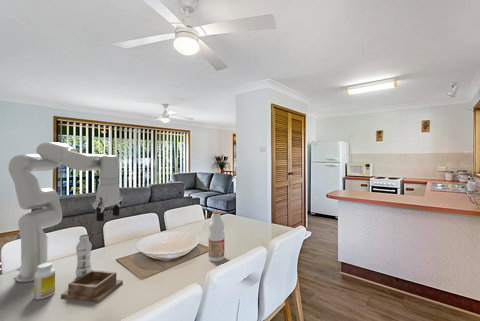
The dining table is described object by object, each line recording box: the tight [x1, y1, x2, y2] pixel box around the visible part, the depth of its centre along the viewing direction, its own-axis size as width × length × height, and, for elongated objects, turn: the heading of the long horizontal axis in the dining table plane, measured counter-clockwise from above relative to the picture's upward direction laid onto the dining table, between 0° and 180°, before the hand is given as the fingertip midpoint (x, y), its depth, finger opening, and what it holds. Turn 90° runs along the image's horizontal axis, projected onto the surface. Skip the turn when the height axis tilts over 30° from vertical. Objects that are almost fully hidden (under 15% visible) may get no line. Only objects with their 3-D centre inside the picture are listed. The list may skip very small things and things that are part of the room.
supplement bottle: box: [33, 262, 56, 300], centre depth 93 cm, size 7×7×13 cm
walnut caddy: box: [60, 269, 124, 303], centre depth 97 cm, size 18×14×5 cm
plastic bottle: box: [75, 234, 93, 279], centre depth 109 cm, size 6×7×20 cm
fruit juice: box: [207, 209, 225, 263], centre depth 129 cm, size 9×9×28 cm
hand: (108, 218), depth 103 cm, fingers open, 9 cm apart
